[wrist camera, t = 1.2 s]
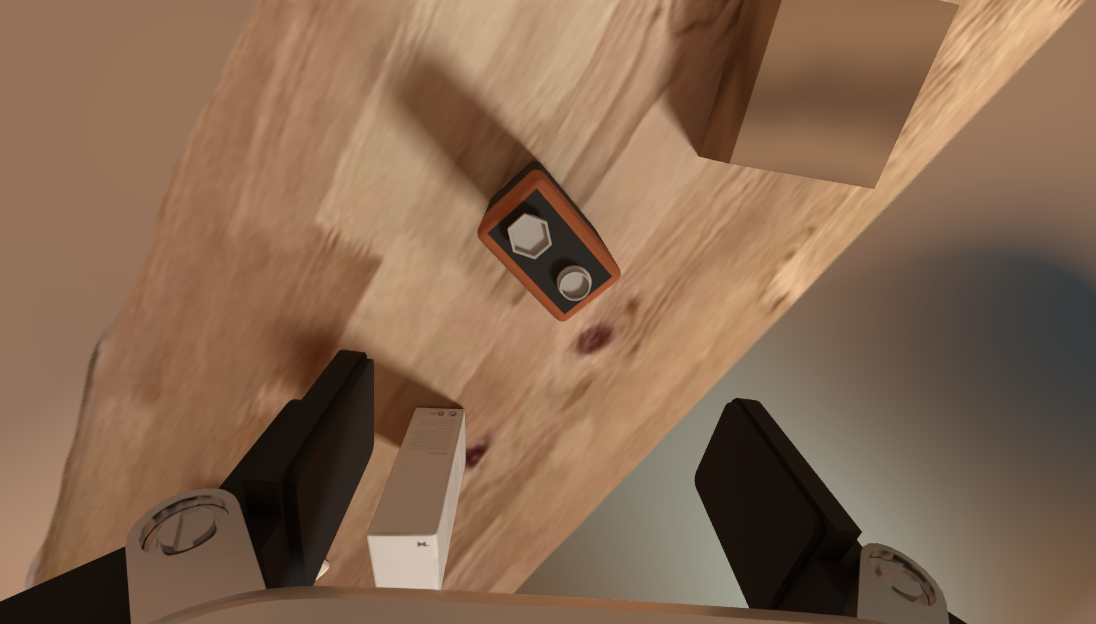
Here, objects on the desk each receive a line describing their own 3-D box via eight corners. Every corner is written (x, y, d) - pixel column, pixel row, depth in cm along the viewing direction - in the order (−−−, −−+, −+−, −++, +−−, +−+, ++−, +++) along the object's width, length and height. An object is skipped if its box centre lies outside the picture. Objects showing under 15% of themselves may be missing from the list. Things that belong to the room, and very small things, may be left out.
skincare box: (414, 405, 35) (364, 533, 25) (465, 407, 36) (438, 533, 25) (418, 460, 38) (374, 598, 27) (466, 462, 38) (442, 598, 27)
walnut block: (744, -6, 25) (792, -34, 20) (883, 24, 26) (959, 5, 21) (697, 156, 28) (729, 163, 24) (820, 177, 29) (874, 188, 25)
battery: (535, 156, 28) (539, 175, 19) (599, 233, 30) (630, 283, 21) (487, 201, 29) (469, 239, 20) (552, 272, 31) (563, 335, 22)
